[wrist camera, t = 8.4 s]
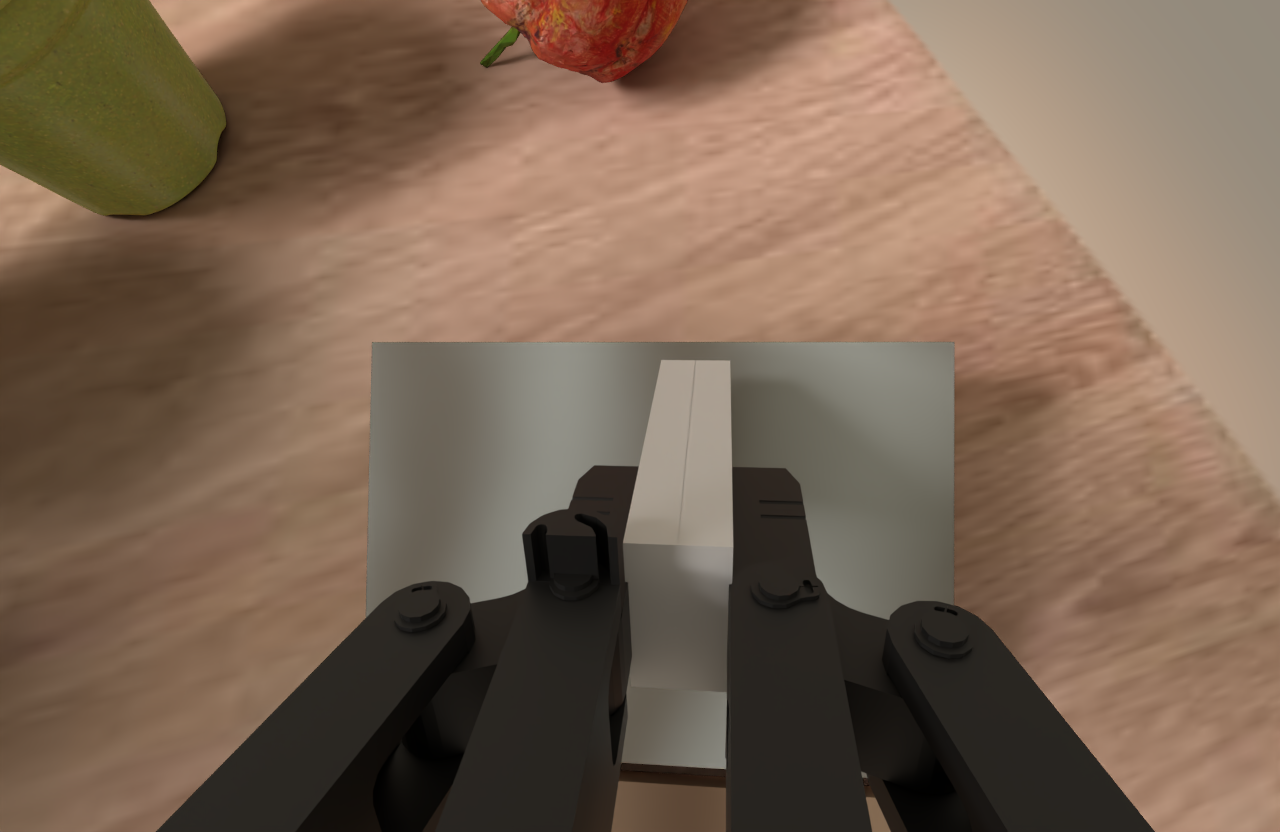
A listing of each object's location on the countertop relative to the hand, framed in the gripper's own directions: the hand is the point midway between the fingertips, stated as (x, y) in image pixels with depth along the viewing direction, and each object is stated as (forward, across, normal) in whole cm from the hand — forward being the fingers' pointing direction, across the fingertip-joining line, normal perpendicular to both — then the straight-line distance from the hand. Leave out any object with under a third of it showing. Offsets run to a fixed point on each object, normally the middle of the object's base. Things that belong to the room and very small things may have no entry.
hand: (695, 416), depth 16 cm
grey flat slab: (+1, -1, -4) cm, 4 cm away
